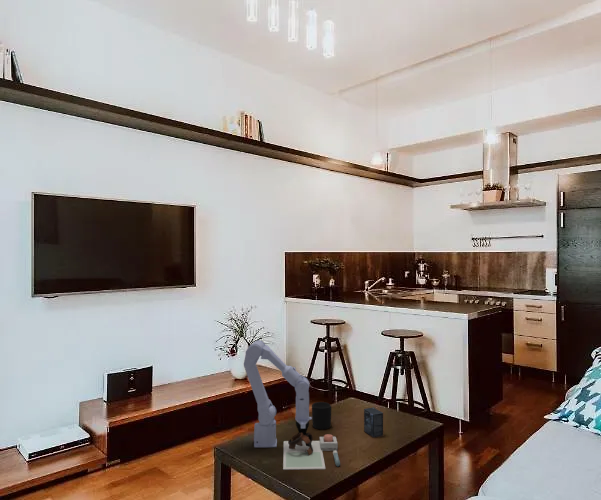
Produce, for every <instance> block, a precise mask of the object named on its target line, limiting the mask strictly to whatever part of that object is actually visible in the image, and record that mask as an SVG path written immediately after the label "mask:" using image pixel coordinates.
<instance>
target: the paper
mask: <svg viewBox="0 0 601 500" xmlns="http://www.w3.org/2000/svg"><path fill="white" fill-rule="evenodd" d="M288 441H289V440H284V441H283V456H282V457H283V463H282V467H283V468H282V469H283V470H284V471H285V470H287V471H288V470H289V471H290V470H293V471H295V470H299V471H301V470H326V465H325V459H324V453H323V451H322V450H321V447H320V440H312V443H311V445H312V448H313V452H312V454H310V455H309V454H308V452H307V450H308V449H309V447H308V446H306V443H305V442H304V441H303V440H302V446H299V445H297V444H296V447H295V449H289V444H288Z"/></svg>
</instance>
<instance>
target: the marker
mask: <svg viewBox="0 0 601 500" xmlns="http://www.w3.org/2000/svg"><path fill="white" fill-rule="evenodd" d="M338 453H339V452H338V450H334V451H332V454H333V455H332V456H333V460H334V463H335V466H336V467H340V466H341V461H340V458H339V454H338Z"/></svg>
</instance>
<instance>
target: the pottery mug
mask: <svg viewBox="0 0 601 500" xmlns="http://www.w3.org/2000/svg"><path fill="white" fill-rule="evenodd" d="M313 439H314V436H313V434H312V433H311V432H306V434H305V435H303V433H299V432H298V433H296V434H295V435H294V436H292V437H291V439H289V440H287V441H288V444H289V449H295V447H296V444H297V445H299V446H302V441H304V442H305V443H306V446H308V447H309V449H308V450H307V452H308V454H309V455H310V454H312V452H313V448H312V445H311V443H312V441H314V440H313Z"/></svg>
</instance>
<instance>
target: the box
mask: <svg viewBox="0 0 601 500" xmlns="http://www.w3.org/2000/svg"><path fill="white" fill-rule="evenodd" d="M363 432H365V433H366V434H368V435H369V436H371V437H372V438H378V437H379V438H380V437H383V436H384V412H383V411H380V410H379V409H377V408H375V407H367V408H364V409H363Z"/></svg>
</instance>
